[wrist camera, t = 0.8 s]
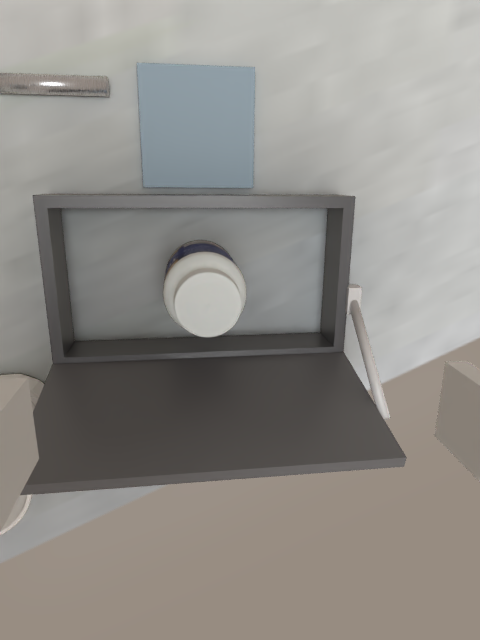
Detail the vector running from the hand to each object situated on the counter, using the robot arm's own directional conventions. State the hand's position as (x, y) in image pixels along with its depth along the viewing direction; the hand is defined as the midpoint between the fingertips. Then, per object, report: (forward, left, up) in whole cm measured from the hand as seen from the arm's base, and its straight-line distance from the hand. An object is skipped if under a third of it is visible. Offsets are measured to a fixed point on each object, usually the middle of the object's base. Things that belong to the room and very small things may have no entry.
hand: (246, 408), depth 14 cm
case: (0, -1, -23) cm, 23 cm away
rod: (-10, +13, -23) cm, 28 cm away
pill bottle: (0, 0, -23) cm, 23 cm away
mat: (0, +10, -23) cm, 25 cm away
